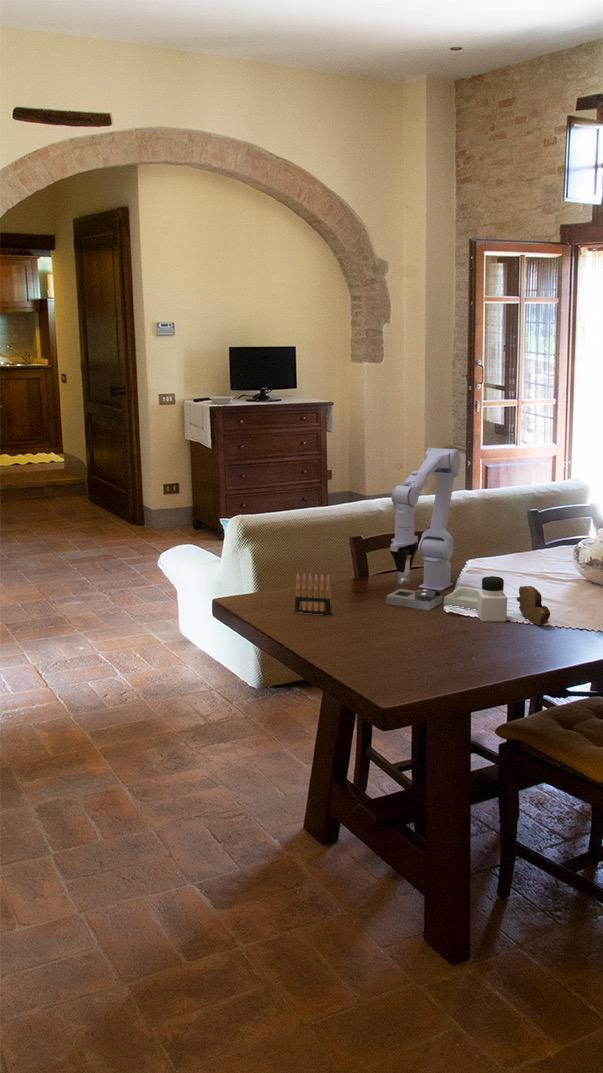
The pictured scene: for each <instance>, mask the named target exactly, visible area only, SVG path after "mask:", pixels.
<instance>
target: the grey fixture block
mask: <svg viewBox="0 0 603 1073" xmlns="http://www.w3.org/2000/svg"><path fill="white" fill-rule="evenodd" d="M385 598H386V603H385V604H386V605H390V606H391V605H394V606H398V607H399V606H400V607H404V608H405V607H406V608H411V609H417V610H424V611H430V610H433V609H434V608H436V607H438V606H439V605H441V604H442V603H443V595H442V593H441V591H439V590H433V589H426V588H419V589H416V590H412V589H411V590H409V589H404V588H403V589H402V588H398V589H396V590H395V591H393V592H391V593H389V594H387V595H386V597H385Z"/></svg>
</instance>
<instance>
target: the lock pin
mask: <svg viewBox="0 0 603 1073" xmlns="http://www.w3.org/2000/svg"><path fill="white" fill-rule="evenodd" d="M410 558H411V554H409V553H408V555H407V559H406V565H405V571H404V572H397V575H398V576H397V584H399V585H409V584H410V581H411V579H410V574H411V573H410V572H411V569H410Z"/></svg>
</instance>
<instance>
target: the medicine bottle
mask: <svg viewBox="0 0 603 1073" xmlns="http://www.w3.org/2000/svg"><path fill="white" fill-rule="evenodd" d="M504 581H505V580H504V579H503V577H500V576H498V575H487V576H486V575H485V577H482V579H481V590H478V591H477V592H478V608H477V610H476V611H477V612H476V613H477V617H478V618H479V620H480V621H481V622H482V623H483V622H502V623H504V622H507V612H508V608H507V607H508V597H507V596H506V594H505V592H504V587H505V585H504V584H505V582H504Z"/></svg>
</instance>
